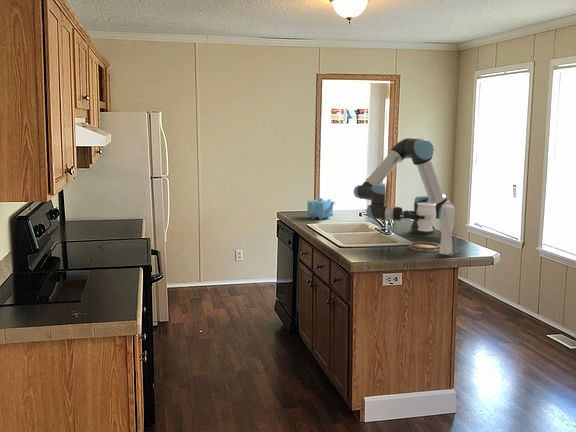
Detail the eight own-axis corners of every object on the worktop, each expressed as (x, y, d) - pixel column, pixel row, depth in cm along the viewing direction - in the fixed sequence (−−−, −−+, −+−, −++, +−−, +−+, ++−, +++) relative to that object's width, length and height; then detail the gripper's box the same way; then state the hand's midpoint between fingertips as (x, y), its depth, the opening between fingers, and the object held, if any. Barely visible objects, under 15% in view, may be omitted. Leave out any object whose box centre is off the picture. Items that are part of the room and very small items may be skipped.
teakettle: (305, 216, 446) (306, 196, 444) (331, 216, 448) (331, 196, 446) (309, 220, 427) (309, 200, 425) (335, 220, 429) (336, 200, 427)
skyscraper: (449, 256, 318) (452, 203, 314) (435, 254, 323) (438, 202, 319) (457, 254, 324) (459, 201, 320) (443, 251, 330) (445, 200, 325)
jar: (435, 232, 329) (436, 205, 326) (415, 231, 331) (417, 204, 328) (434, 229, 339) (436, 202, 337) (415, 228, 341) (417, 201, 339)
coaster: (413, 244, 348) (413, 240, 347) (443, 247, 340) (443, 243, 340) (405, 249, 333) (405, 246, 332) (436, 252, 325) (436, 249, 325)
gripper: (399, 217, 352) (438, 220, 343) (387, 222, 332) (428, 226, 322) (400, 204, 351) (438, 207, 341) (388, 209, 331) (428, 212, 321)
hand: (433, 216), depth 332 cm, fingers closed on jar, 10 cm apart
